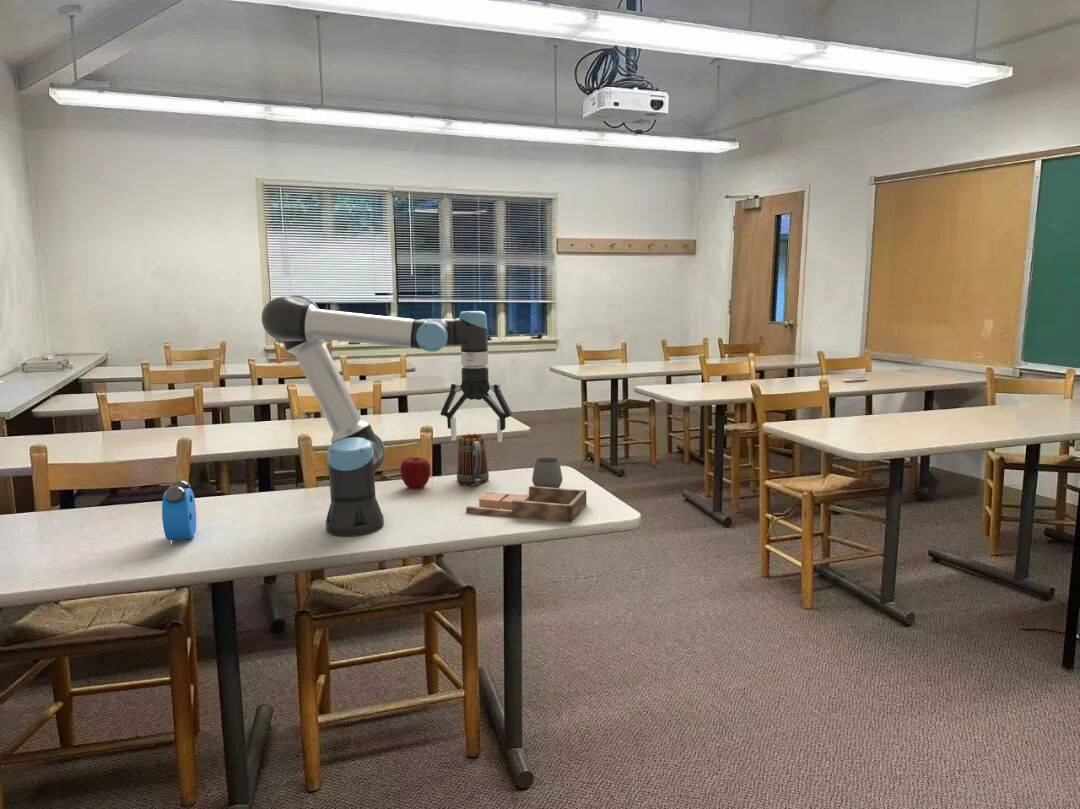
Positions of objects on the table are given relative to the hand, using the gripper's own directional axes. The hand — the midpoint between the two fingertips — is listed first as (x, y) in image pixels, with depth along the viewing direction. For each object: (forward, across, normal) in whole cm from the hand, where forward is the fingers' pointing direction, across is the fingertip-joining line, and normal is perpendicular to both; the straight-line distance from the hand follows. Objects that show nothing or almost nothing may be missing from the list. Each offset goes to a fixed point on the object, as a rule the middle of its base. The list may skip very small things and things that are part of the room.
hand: (476, 440), depth 203 cm
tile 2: (+20, +11, +1) cm, 23 cm away
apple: (+20, -26, +17) cm, 37 cm away
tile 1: (+20, +4, +2) cm, 21 cm away
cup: (+20, +17, +19) cm, 32 cm away
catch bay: (+20, +14, +1) cm, 24 cm away
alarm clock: (+21, -70, -35) cm, 81 cm away
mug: (+20, -8, +25) cm, 33 cm away
